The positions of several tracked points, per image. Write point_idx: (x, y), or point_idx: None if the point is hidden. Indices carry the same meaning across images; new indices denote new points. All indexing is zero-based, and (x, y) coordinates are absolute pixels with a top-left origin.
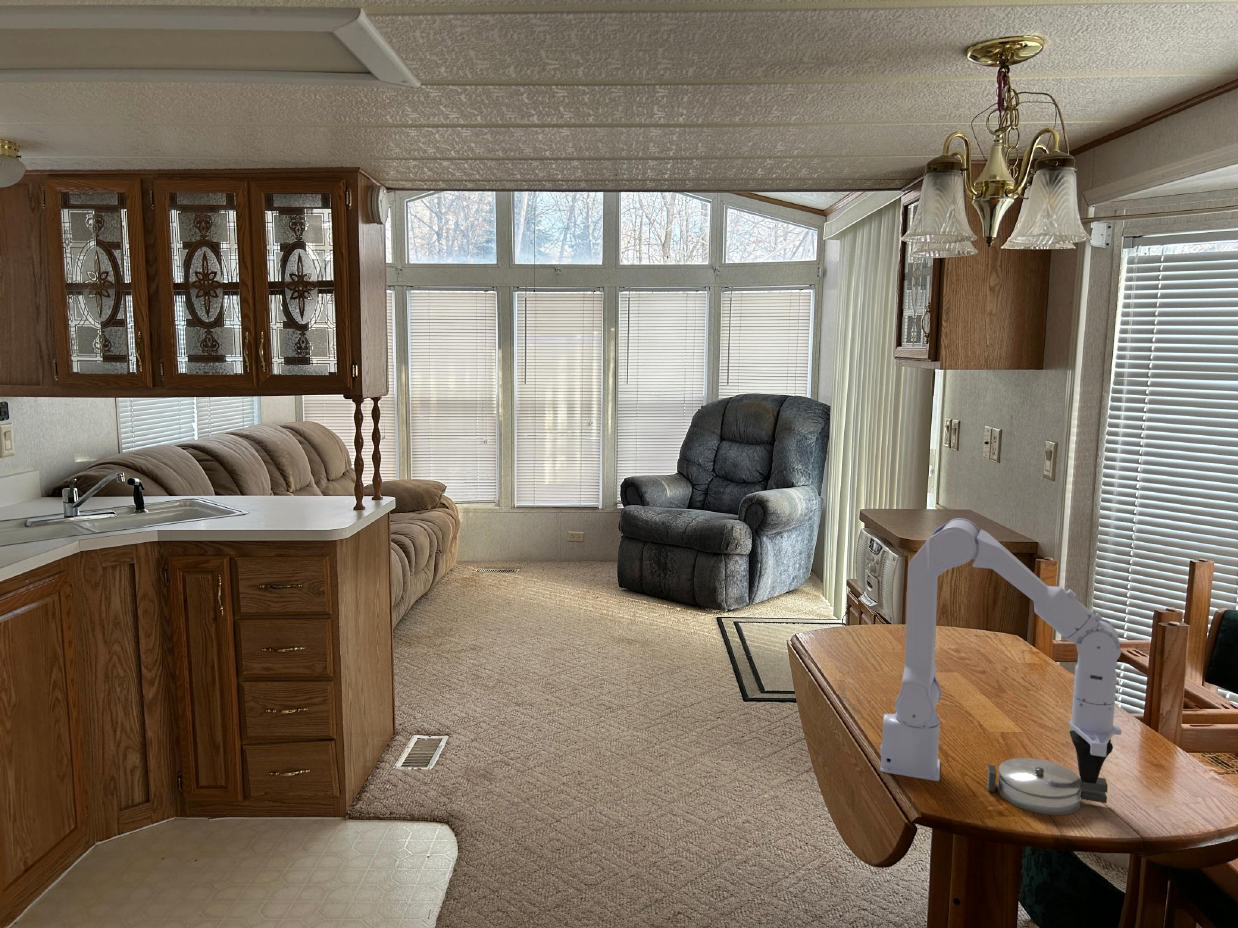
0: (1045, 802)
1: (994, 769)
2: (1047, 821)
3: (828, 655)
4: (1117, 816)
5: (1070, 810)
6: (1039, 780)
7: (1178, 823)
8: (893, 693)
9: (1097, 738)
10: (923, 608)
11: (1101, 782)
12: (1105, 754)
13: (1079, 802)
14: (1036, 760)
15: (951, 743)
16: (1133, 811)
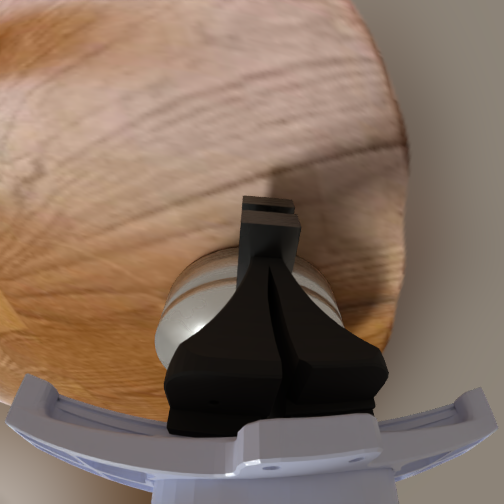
0: None
1: None
2: (354, 314)
3: (5, 397)
4: (308, 166)
5: (326, 282)
6: None
7: (304, 13)
8: None
9: (443, 459)
10: None
11: (280, 241)
12: (484, 395)
13: (294, 263)
14: (165, 351)
15: (103, 381)
16: (264, 111)
